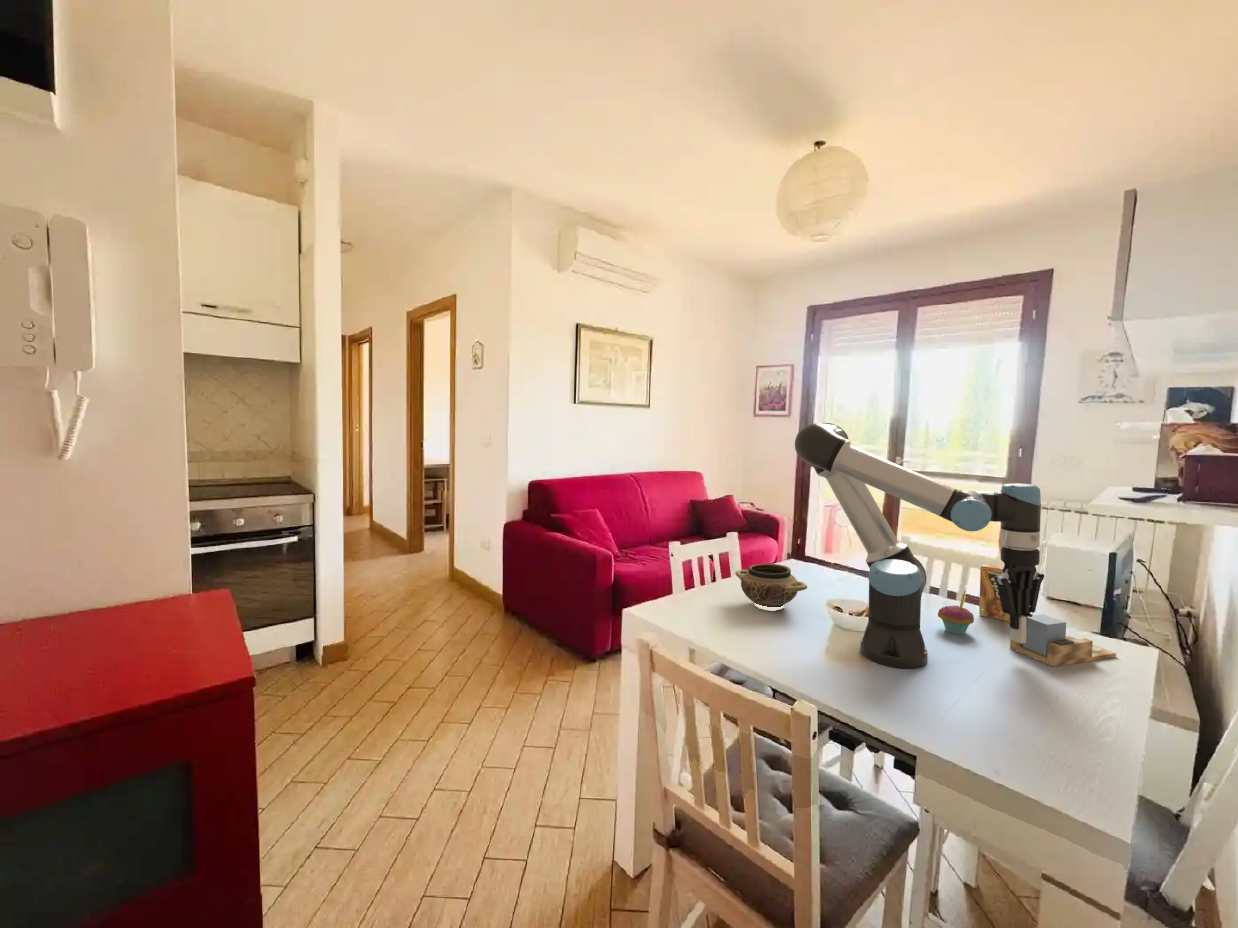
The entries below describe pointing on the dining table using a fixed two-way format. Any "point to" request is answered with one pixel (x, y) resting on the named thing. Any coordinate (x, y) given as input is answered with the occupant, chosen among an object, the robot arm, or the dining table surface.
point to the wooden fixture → (1067, 651)
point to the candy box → (991, 593)
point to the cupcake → (956, 618)
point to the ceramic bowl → (769, 584)
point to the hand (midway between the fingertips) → (1018, 640)
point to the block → (1043, 632)
